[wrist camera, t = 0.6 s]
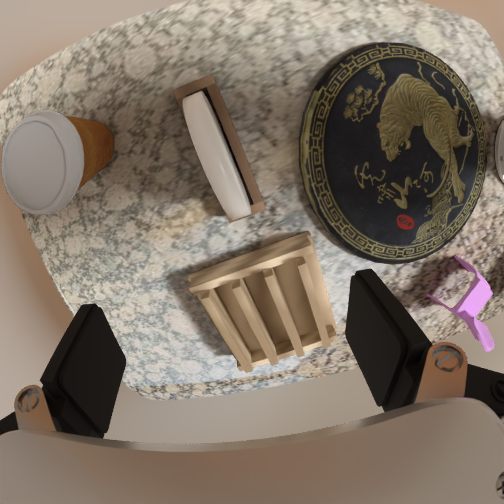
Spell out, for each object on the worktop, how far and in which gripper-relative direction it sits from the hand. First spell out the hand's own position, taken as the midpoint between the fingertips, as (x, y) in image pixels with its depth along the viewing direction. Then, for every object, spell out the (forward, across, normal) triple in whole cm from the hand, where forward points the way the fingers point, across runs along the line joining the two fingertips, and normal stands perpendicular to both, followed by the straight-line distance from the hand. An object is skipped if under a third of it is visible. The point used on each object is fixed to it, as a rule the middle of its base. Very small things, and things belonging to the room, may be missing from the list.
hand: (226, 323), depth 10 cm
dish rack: (+24, -3, +17) cm, 30 cm away
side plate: (+18, 0, -4) cm, 18 cm away
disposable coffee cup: (+25, +15, -7) cm, 30 cm away
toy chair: (+23, -35, +19) cm, 46 cm away
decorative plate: (+24, -23, -2) cm, 33 cm away
